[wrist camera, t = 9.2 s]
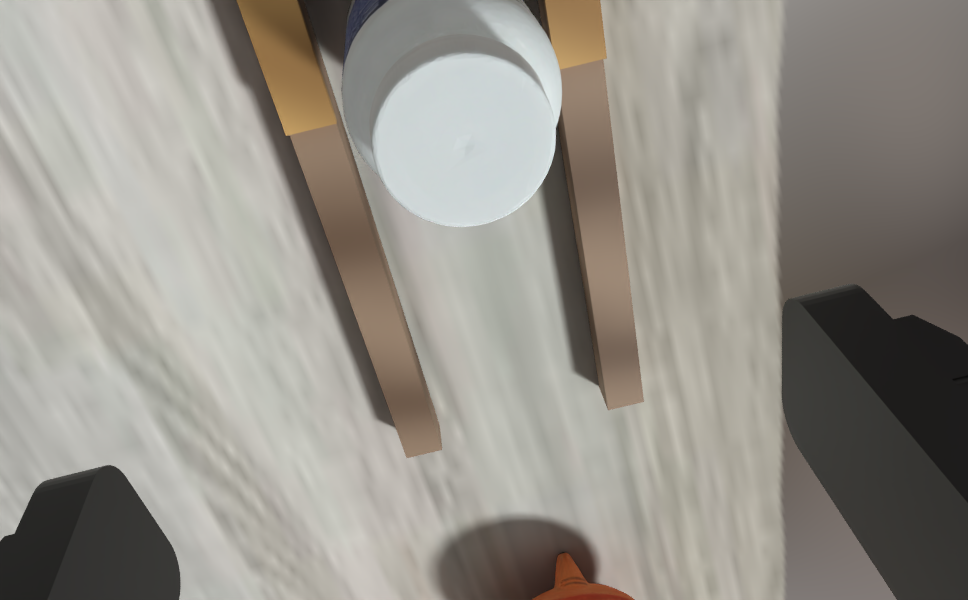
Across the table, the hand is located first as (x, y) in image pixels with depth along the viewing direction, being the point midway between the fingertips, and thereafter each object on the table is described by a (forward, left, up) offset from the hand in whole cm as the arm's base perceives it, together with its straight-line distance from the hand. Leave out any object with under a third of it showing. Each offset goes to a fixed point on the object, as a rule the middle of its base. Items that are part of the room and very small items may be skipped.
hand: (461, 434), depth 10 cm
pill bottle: (0, +1, -19) cm, 19 cm away
